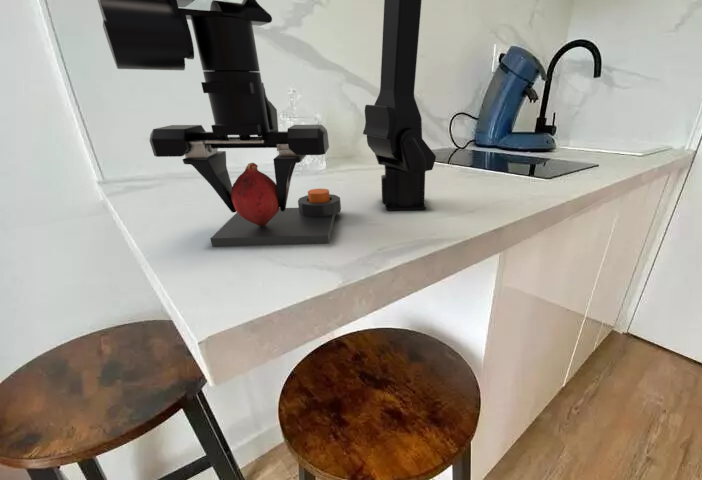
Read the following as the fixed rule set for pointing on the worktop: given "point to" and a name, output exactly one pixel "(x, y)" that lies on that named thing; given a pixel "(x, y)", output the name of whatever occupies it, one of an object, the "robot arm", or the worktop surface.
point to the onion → (255, 196)
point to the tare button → (318, 195)
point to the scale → (283, 226)
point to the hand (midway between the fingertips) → (259, 210)
